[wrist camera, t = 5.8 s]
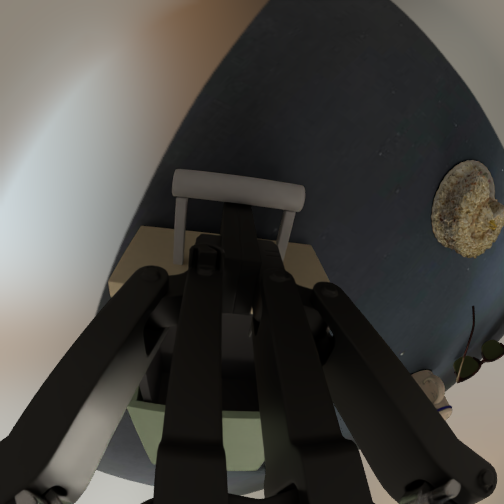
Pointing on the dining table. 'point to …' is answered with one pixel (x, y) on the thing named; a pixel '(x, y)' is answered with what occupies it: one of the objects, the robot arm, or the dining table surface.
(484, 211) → the cake
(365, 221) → the dining table surface
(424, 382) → the teacup with lid
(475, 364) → the sunglasses
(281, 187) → the pull-out drawer
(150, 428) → the green drawer box
